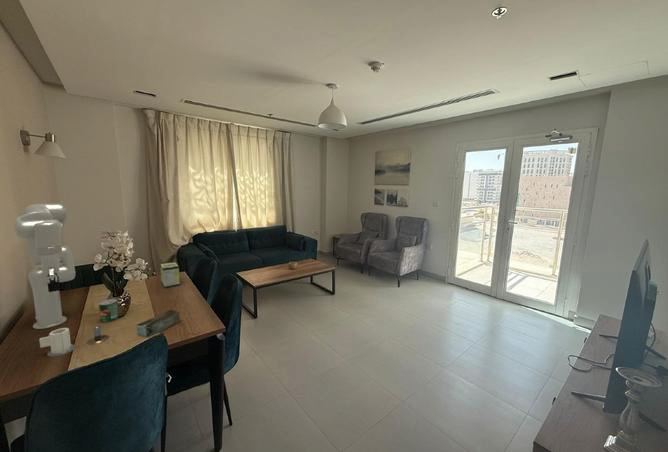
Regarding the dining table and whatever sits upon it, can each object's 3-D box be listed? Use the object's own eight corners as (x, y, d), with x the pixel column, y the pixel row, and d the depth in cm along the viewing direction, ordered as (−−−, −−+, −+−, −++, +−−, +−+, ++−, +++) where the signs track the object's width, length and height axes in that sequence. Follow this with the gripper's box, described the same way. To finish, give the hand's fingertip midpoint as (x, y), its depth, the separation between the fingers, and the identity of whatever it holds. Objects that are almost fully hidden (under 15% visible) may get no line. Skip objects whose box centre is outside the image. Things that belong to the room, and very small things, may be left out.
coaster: (42, 355, 119) (42, 353, 119) (66, 344, 128) (66, 342, 128) (56, 359, 117) (56, 357, 117) (80, 347, 126) (80, 346, 126)
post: (82, 343, 128) (80, 329, 127) (101, 334, 137) (99, 321, 136) (95, 346, 126) (93, 332, 125) (113, 337, 135) (112, 324, 134)
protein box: (176, 280, 218) (175, 261, 216) (180, 285, 207) (179, 266, 205) (161, 282, 212) (159, 263, 210) (164, 288, 200) (163, 268, 198)
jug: (69, 350, 122) (67, 332, 121) (39, 357, 116) (37, 338, 115) (71, 344, 127) (69, 326, 125) (43, 351, 121) (41, 332, 120)
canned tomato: (97, 324, 147) (95, 305, 145) (105, 317, 154) (103, 299, 153) (114, 322, 149) (112, 303, 148) (121, 316, 157) (119, 298, 155)
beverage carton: (136, 335, 137) (135, 323, 136) (170, 319, 155) (170, 308, 154) (146, 339, 134) (145, 326, 134) (180, 322, 152) (180, 311, 151)
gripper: (37, 248, 119) (42, 285, 122) (35, 255, 107) (40, 296, 110) (61, 245, 125) (65, 281, 127) (62, 252, 113) (66, 291, 115)
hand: (54, 288), depth 118 cm, fingers open, 9 cm apart
